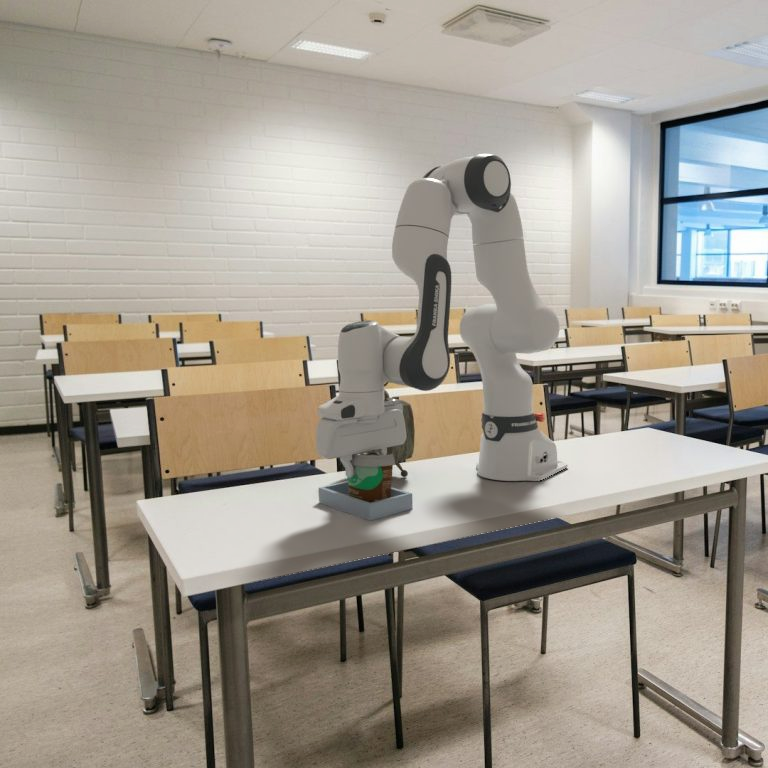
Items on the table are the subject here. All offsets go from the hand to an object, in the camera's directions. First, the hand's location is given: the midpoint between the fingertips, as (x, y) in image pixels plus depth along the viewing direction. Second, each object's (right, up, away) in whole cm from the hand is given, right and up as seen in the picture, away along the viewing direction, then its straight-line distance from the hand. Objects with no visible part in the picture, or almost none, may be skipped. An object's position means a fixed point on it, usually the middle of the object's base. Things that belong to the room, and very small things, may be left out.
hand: (364, 473), depth 138 cm
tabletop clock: (+3, -4, +24) cm, 24 cm away
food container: (0, -6, 0) cm, 6 cm away
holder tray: (0, -7, +1) cm, 7 cm away
